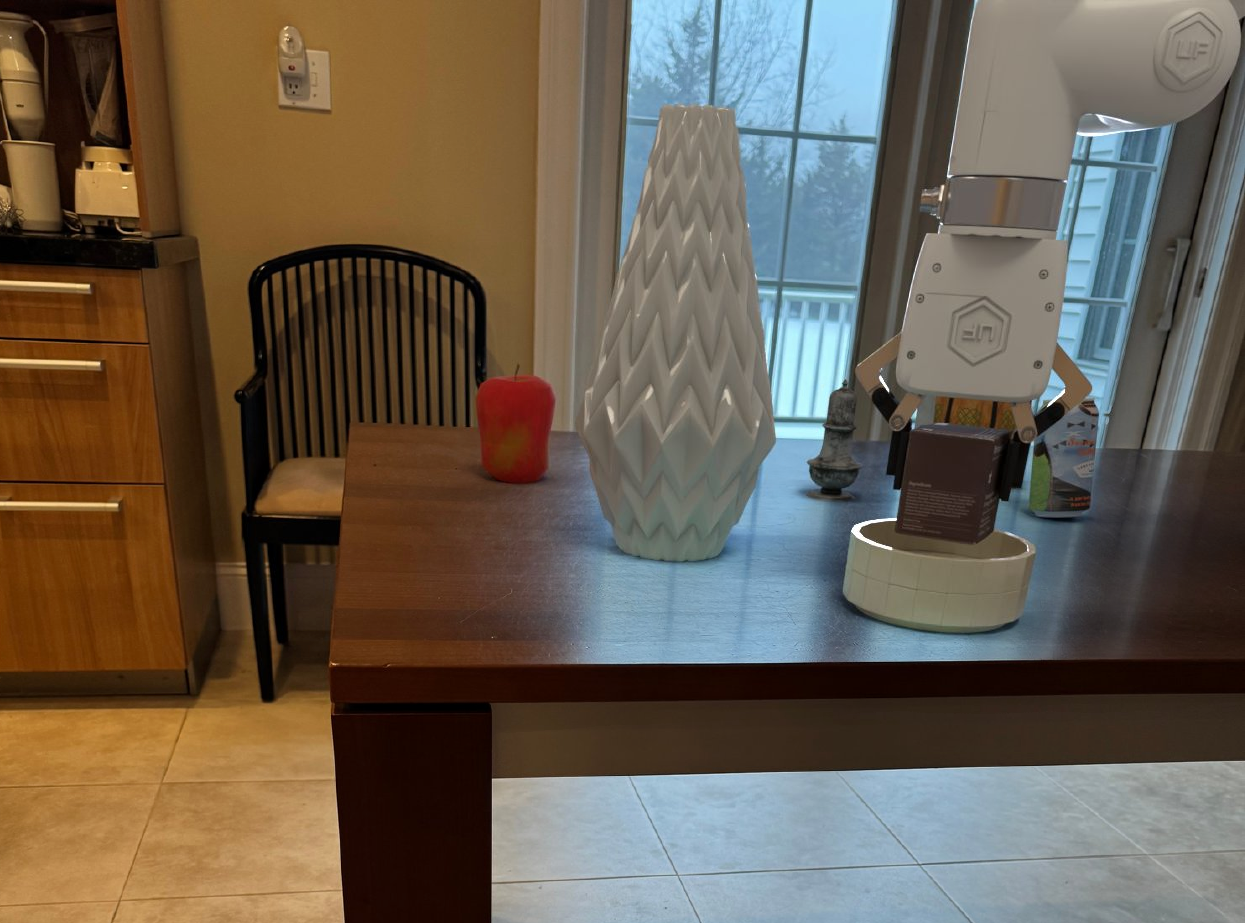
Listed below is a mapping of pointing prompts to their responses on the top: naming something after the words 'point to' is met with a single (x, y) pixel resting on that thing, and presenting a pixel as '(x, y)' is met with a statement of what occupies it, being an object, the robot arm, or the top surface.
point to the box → (952, 482)
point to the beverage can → (1065, 463)
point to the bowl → (937, 578)
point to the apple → (515, 426)
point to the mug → (965, 413)
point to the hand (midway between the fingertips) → (951, 490)
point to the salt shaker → (836, 449)
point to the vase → (682, 353)
